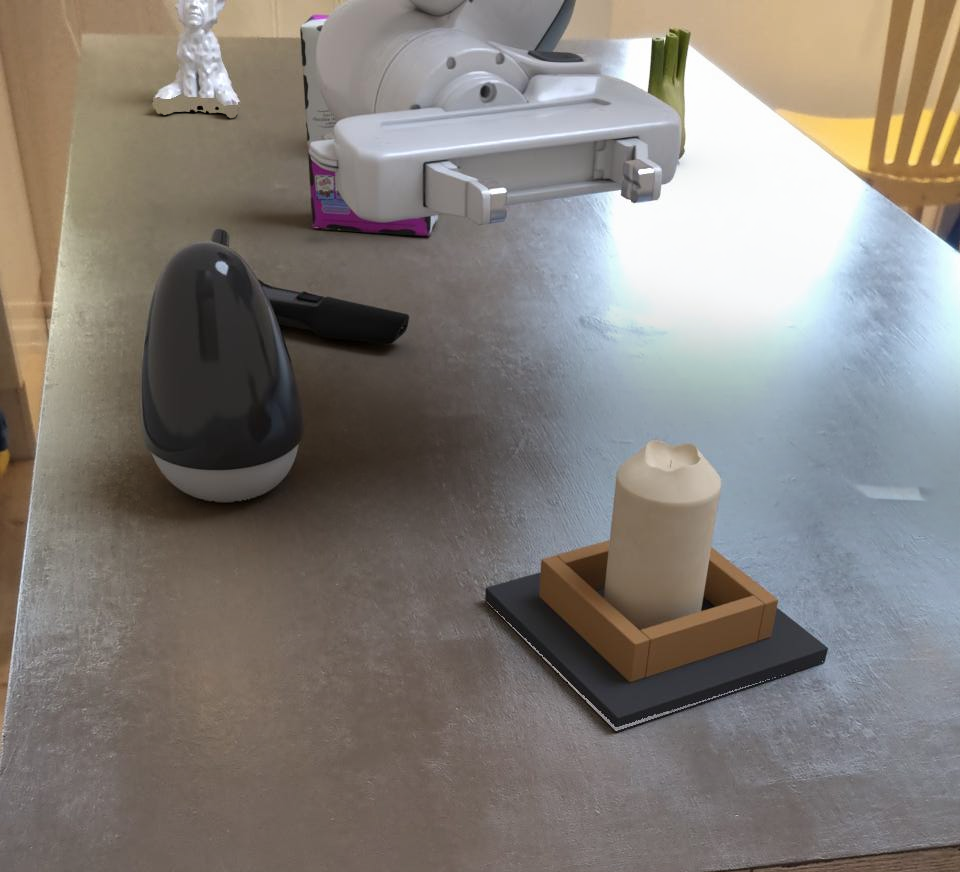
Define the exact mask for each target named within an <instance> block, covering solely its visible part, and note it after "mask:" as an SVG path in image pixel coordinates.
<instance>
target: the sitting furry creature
mask: <svg viewBox="0 0 960 872" xmlns="http://www.w3.org/2000/svg"><path fill="white" fill-rule="evenodd" d="M226 1H227V0H177V1H176V3H175V4H174V9H175V11H176V10H177V16H178V17H177V20H178V22H180V24H182V26H183V27H184V28H183V29H182V31H181V33H180V34H178V42H177V45H176V46H177V47H176V60H177V62H178V65H177V66H178V70H177V72H176V73H175V80H174V81H173V82H171V83H169V84H166V85H165V86H163V87H162V88H159V89H158V91H157V93H155V95H154V96H155V97H154V96H153V97H154V98H157V97H160V99H171V98H174V97H176V96H178V95H180V94H182V93H184V95H185V96H187V97H197V96H198V91H199V96H200V97H201V98H214V97H215V95H216V98H217V101H219V102H220V103H221V104H223V105H224V106H226V105H238V102H240V103H241V100H240V99H239V98H238V93H236V92H235V91H234V88H233V86H232V81H231V79H230V78H229V73H228V71H227V67H225V64H224V62H223V60H222V59H223V57H222V53H221V45H220V43H218V38H217V37H216V36H215V33H214V31H212V30H211V29H212V28H213V26H214V25H215V24H216V25H217V23H218V20H219V13H221V12H222V11H223V10H224V9H225V6H226ZM214 94H215V95H214Z"/></svg>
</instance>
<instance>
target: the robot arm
mask: <svg viewBox="0 0 960 872" xmlns="http://www.w3.org/2000/svg"><path fill="white" fill-rule="evenodd" d="M576 2H577V0H346V1H344V2H342V3H341V4H339V5H338V6H337V7H336V8H334V9H333V11H332V12H331V13H330V14H328V15H329V17H328V18H327V20H326V21H325V23H324V25H323V27H322V29H321V32H320V34H319V38H318V42H317V47H316V73H317V80H318V85H319V88H320V91H321V94H322V97H323V99H324V102H325V104H326V106H327V107H328V109H329V111H330V113H331V114H332V116H333V117H334V119H335V120H336V121H337V123H336V124H335V126H334V132H332V133H329V134H326V135H325V136H324V140H322V141H313V142H311V143H310V148H309V154H310V157H311V160H312V161H313V162H315V163H316V164H317V165H318V166H320V167H321V168H323V169H325V170H329V171H334V172H335V179H336V187H337V190H338V192H339V193H340V195H341V197H342V198H343V200H344V201H345V203H346V204H347V205H348V206H349V208H350V209H351V210H352V211H353V212H354V213H355V214H356V215H357V216H358V217H360V218H362V219H365V220H369V221H374V222H392V221H398V220H406V219H413V218H420V217H428V216H435V215H438V216H441V215H442V216H443V215H449V216H456V217H461V218H468V219H469V220H471V221H472V222H473V223H474V224H476V225H478V226H485V225H489V224H490V225H491V224H496V223H497V224H498V223H502V222H505V221H506V220H507V211H508V210H507V209H506V207H508V206H514V205H521V204H531V203H535V202H544V201H551V200H559V199H565V198H573V197H578V196H579V197H580V196H581V197H582V196H587V195H594V194H595V195H596V194H602V193H610V192H618V191H620V196H621V197H622V198H624V199H625V200H629V201H630V202H631V203H632V204H639V203H649V202H652V201H653V202H654V201H658V200H659V199H660V197H661V191H662V185H667V184H669V183H671V182H672V181H673V179H674V177H675V175H676V171H677V168H678V166H679V165H678V164H679V161H680V159H679V153H680V145H681V129H682V127H681V119H680V116H679V114H678V113H677V112H676V111H675V110H674V109H673V108H672V107H671V106H669V105H667V104H666V103H664V102H663V101H661V100H660V99H658V98H656V97H655V96H653V95H651V94H649V93H648V91H646V90H644V89H642V88H640V87H639V86H637V85H634V84H633V83H631V82H628V81H626V80H624V79H621V78H618V77H614V76H610V75H606V74H605V75H604V74H602V71H601V70H602V68H601V67H602V66H601V65H602V64H601V61H600V60H599V59H597V58H595V57H593V56H590V55H588V54H586V53H573V52H568V51H567V52H565V51H564V52H563V51H555V49H556V47H557V46H558V44H559V42H560V41H561V39H562V37H563V36H564V34H565V32H566V31H567V28H568V26H569V24H570V22H571V20H572V16H573V14H574V10H575V6H576Z"/></svg>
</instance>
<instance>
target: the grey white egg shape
mask: <svg viewBox="0 0 960 872" xmlns="http://www.w3.org/2000/svg"><path fill="white" fill-rule="evenodd" d="M258 279H259V278H258V277H257V276H256V273H255V272H254V271H253V270H252V268H251V267H250V266H249V263H247V261H246V260H245V259H244V258H243V257H242V256H241V255H240V254H239V253H237V251H235V250H234V249H232V248H231V247H230V235H229V233H228V232H227V230H225V229H224V228H215V229H214V230H213V231H212V232H211V235H210V239H209V240H200V241H195V242H191V243H188V244H186V245H184V246H182V247H180V248H179V249H177V250H176V251H174V253H173V254H171V255H170V256H169V258H168V259H167V261H166V263H165V264H164V266H163V268H162V269H161V272H160V274H159V277H158V279H157V281H156V283H155V286H154V289H153V292H152V295H151V300H150V302H149V303H150V304H149V308H148V312H147V316H146V323H145V324H146V325H145V330H144V337H143V343H142V344H143V345H142V351H141V353H142V354H141V363H140V373H139V374H140V375H139V422H140V423H139V424H140V430H141V431H140V433H141V437H142V442H143V444H144V446H145V447H146V448H147V450H148V451H149V452H150V453H151V456H152V458H153V460H154V462H155V464H156V466H157V467H158V469H159V470H160V472H161V474H163V476H164V477H165V478H166V479H167V480H168V481H169V482H170V483H171V484H172V485H173V486H174V487H176V488H177V489H179V490H180V491H181V492H183V493H185V494H187V495H189V496H190V497H194V498H196V499H199V500H202V499H203V501H206V502H212V501H215V502H214V503H235V502H234V501H239V502H243V501H242V500H244V501H247V499H248V500H252V499H254V498H258V497H260V496H262V495H264V494H267V493H268V492H270V491H272V490H273V489H274V488H275V487H277V486H278V485H279V484H280V483H281V482H282V481H283V480H284V479H285V477H287V475H288V473H289V472H290V471H291V468H292V467H293V465H294V462H295V461H296V457H297V454H298V449H299V444H300V442H301V441H302V439H303V438H304V437H303V436H304V434H305V421H304V420H305V419H304V411H303V405H302V400H301V399H302V398H301V395H300V389H299V385H298V382H297V377H296V374H295V370H294V365H293V363H292V359H291V356H290V353H289V350H288V345H287V343H286V341H285V338H284V335H283V332H282V330H281V329H282V328H281V327H280V326H281V325H279V324H278V321H277V318H276V316H275V313H274V311H273V308H272V306H271V304H270V301H269V299H268V297H267V295H266V293H265V291H264V289H263V287H262V285H261V284H260V282H259V280H260V279H259V280H258ZM257 496H258V497H257ZM251 498H252V499H251Z"/></svg>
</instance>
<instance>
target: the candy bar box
mask: <svg viewBox="0 0 960 872" xmlns="http://www.w3.org/2000/svg"><path fill="white" fill-rule="evenodd" d="M329 15H330V14H312V15H311V16H309V18H308V19H307V20H306V21H304V22H303V23H302V25H300V28H299V34H300V35H299V36H300V51H301V65H302V77H303V93H304V109H305V129H306V143H307V158H308V159H307V160H308V172H309V173H308V175H309V191H310V193H309V194H310V211H311V212H310V213H311V224H312V228H313V227H314V228H313V229H316V230H320V229H319V228H329V229H326V231H327V230H328V231H342V232H357V233H372V234H374V233H375V234H386V235H403V236H417V237H430V236H431V235H432V232H433V230H434V228H435V227H436V226H437V223H438V221H439V215H435V216H428V217H420V218H413V219H406V220H398V221H392V222H374V221H369V220H365V219H362V218H360V217H358V216H357V215H356V214H355V213H354V212H353V211H352V210H351V209H350V208H349V206H348V205H347V204H346V203H345V201H344V200H343V198H342V197H341V195H340V193H339V192H338V190H337V187H336V179H335V172H334V171H329V170H325V169H323V168H321V167H320V166H318V165H317V164H316V163H315V162H313V161H312V160H311V157H310V154H309V148H310V143H311V142H313V141H322V140H324V136H325V135H326V134H329V133H332V132H334V126H335V124H336V123H337V121H336V120H335V119H334V117H333V116H332V114H331V113H330V111H329V109H328V107H327V106H326V104H325V102H324V99H323V97H322V94H321V91H320V88H319V85H318V80H317V73H316V47H317V42H318V38H319V34H320V32H321V29H322V27H323V25H324V23H325V21H326V20H327V18H328V17H329ZM315 227H318V228H315ZM334 229H335V230H334ZM338 229H340V230H338Z"/></svg>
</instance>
